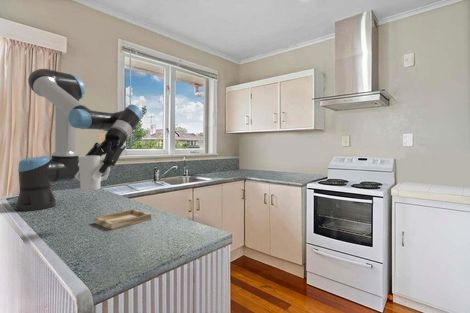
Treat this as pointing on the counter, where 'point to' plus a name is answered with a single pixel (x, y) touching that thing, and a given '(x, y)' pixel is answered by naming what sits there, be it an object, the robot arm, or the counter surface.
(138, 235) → the counter surface
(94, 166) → the mug
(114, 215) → the keeper tray
